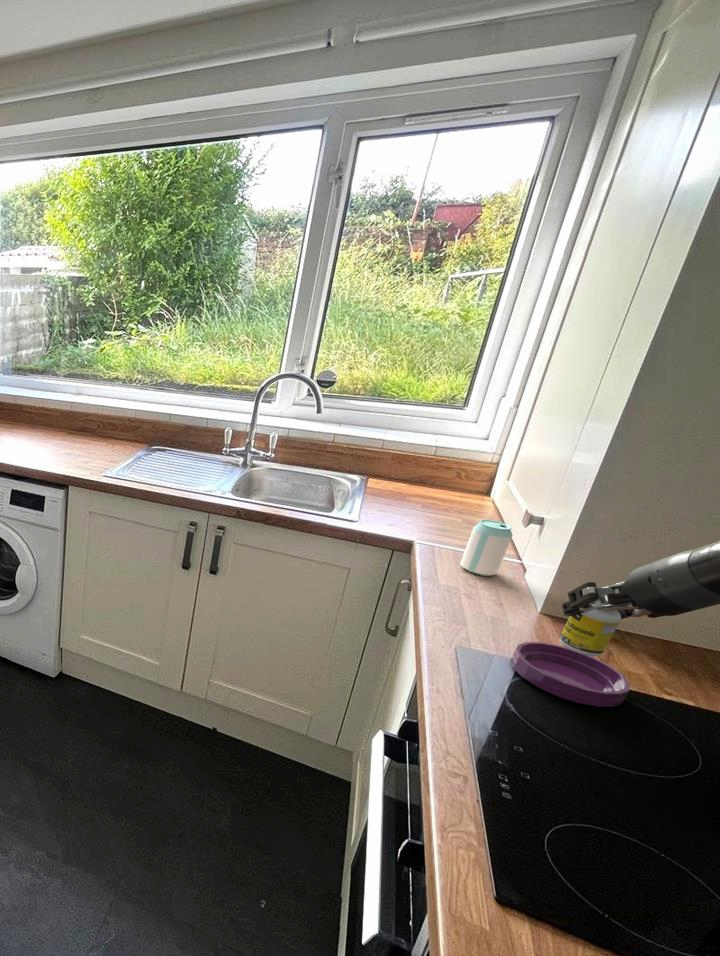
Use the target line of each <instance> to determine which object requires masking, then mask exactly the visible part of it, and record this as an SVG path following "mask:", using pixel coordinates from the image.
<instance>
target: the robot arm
mask: <svg viewBox="0 0 720 956" xmlns="http://www.w3.org/2000/svg"><path fill="white" fill-rule="evenodd" d="M605 596H607V598H608V602H609V604H611V605H607V603H606V598H605ZM567 597H568V601H566V602H563V603H561V608H562V612H563V615H564V616H566V617H570V616H574V615H577V614H581V613H584V612H587V611H591V610H602V611H613V610H616V611H617V612H619V614H620V615H621V620H624V619H627V618H641V617H643V616H646V617H647V618H650V619H656V618H661V617H662V618H663V617H675V616H678V615H682V614H683V615H684V614H687V613H690V612H694V611H697V610H703V609H705V608H709V607H714V606H718V605H720V540H718V541H715V542H712V543H709V544H707V545H704V546H701V547H698V548H694V549H689V550H685V551H681V552H678V553H675V554H673V555H670V556H667V557H663V558H661V559H658V560H655V561H653V562H649V563H648V564H644V565H641V566H639V567H636V568H635V569H633V570H632V571H630V573H629V574H628V576H627V578H625V581H620V582H617V583H614V584H611V585H608V586H603V587H598V586H597V583H596V582H594V581H587V582H585V583H583V584H581V585H579V586H578V587H576V588H573V589H572V590H570V591H568V592H567ZM594 601H595V604H594V605H590V603H592V602H594Z"/></svg>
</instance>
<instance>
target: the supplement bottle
mask: <svg viewBox="0 0 720 956" xmlns="http://www.w3.org/2000/svg"><path fill="white" fill-rule="evenodd" d="M605 598H606V603H607V605H611V604H609V602H608V598H607V596H605ZM594 604H595V601H594V602H592V603H590V605H594ZM621 621H622V619H621V615H620V614H619V612H617V611H616V610H613V611H602V610H591V611H587V612H584V613H581V614H577V615H574V616H568V619H567V621H566V623H565V626H564V628H563V630H562V632H561V634H560V636H559V638H558V639H559V640H558V641H559V643H560V644H561V646H563V647H566V648H568V649H570V650H572V651H575V652H577V653H580V654H583V655H588V656H591V657H599V656H602V655H603V654H604V652H605V651H606V648H607V646H608V645H609V643H610V642H611V639H612V637H613V635H614V633H615V632H616V630H617V628H618V626H619V624H620V622H621Z"/></svg>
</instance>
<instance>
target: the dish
mask: <svg viewBox="0 0 720 956" xmlns="http://www.w3.org/2000/svg"><path fill="white" fill-rule="evenodd" d="M509 661H510V665H511V666H512V669H513V670H514V671H515V672H516V673H517V674H518V675H520V677H521V678H522V679H524V680H526V681H528V682H529V683H530V684H532V685H534V686H535V687H537V688H538V689H540V690H542V691H544V692H546V693H548V694H551V695H553V696H555V697H558V698H561V699H564V700H566V701H570V702H573V703H577V704H580V705H587V706H591V707H598V708H614V707H616V706H619V705H622V704H623V703H624V701H625V699H626V698H627V696H628V694H629V692H630V688H631V683H630V682H629V680H628V679H627V678H626V676H625V675H624V674H622V673H621V672H619V670H617V669H616V668H614V667H613V666H611V665H610V664H608V663H606V662H604V661H602V660H600V659H598V658H596V657H595V656H588V655H583V654H580V653H577V652H575V651H572V650H570V649H568V648H567V647H565V646H563V645H559V644H554V643H547V642H543V641H542V642H541V641H526V642H522V643H518V645H517V646H516V647H515V650H514V652H513V654H512V656H511V659H510V660H509Z"/></svg>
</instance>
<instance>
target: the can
mask: <svg viewBox="0 0 720 956" xmlns="http://www.w3.org/2000/svg"><path fill="white" fill-rule="evenodd" d="M512 538H513V532H512V526H511V525H509V524H507V523H505V522H501V521H498V520H493V519H481V520H480V521H479V522H478V523H477V524H476V525H474V526H473V529H472V531H471V533H470V536H469V539H468V542H467V545H466V547H465V550H464V553H463V555H462V557H461V560H460V563H459V565H460V566H461V568H463V569H464V568H465V569H466V570H465V569H464V570H465V571H466V572H468V573H471V572H473V573H472V574H474V573H476V574H474V575H477V576H483V577H491V576H494V575H497V574H498V572H499V570H500V567H501V565H502V563H503V560H504V557H505V555H506V553H507V550H508V548H509V545H510V543H511V541H512ZM467 570H468V571H467ZM469 571H471V572H469ZM478 574H480V575H478Z"/></svg>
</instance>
